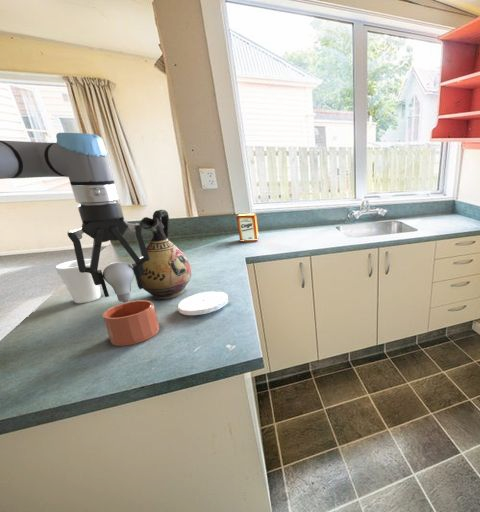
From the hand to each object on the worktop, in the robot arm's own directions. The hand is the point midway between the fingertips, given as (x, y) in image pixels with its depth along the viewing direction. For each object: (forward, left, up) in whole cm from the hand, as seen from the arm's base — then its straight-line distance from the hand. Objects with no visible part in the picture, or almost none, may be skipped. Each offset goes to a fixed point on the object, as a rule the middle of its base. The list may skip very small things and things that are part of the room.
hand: (123, 291), depth 78 cm
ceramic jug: (-8, +27, -13) cm, 31 cm away
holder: (0, 0, -13) cm, 13 cm away
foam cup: (-33, +22, -13) cm, 42 cm away
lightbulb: (0, 0, -3) cm, 3 cm away
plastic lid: (+10, +16, -13) cm, 23 cm away
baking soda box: (-10, +101, -13) cm, 102 cm away
